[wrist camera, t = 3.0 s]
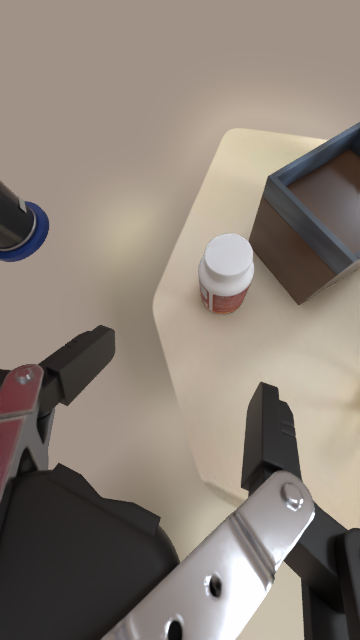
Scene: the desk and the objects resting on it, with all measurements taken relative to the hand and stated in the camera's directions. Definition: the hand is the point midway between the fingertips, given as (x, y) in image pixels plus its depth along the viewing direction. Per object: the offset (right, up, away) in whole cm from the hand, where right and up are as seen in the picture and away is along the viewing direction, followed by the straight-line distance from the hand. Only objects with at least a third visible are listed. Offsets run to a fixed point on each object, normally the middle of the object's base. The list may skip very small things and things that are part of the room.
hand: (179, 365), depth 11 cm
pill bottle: (+6, +6, +20) cm, 22 cm away
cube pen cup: (+19, +12, +20) cm, 30 cm away
